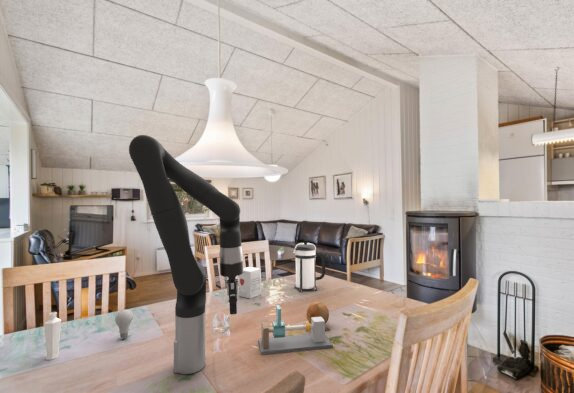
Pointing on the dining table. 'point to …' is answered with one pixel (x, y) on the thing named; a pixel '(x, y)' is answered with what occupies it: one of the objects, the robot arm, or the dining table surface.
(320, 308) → the onion
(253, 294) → the supplement box
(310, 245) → the coffee press
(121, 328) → the lightbulb
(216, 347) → the dining table surface
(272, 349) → the grey rod holder stand
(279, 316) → the light blue bracket block
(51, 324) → the perfume bottle
